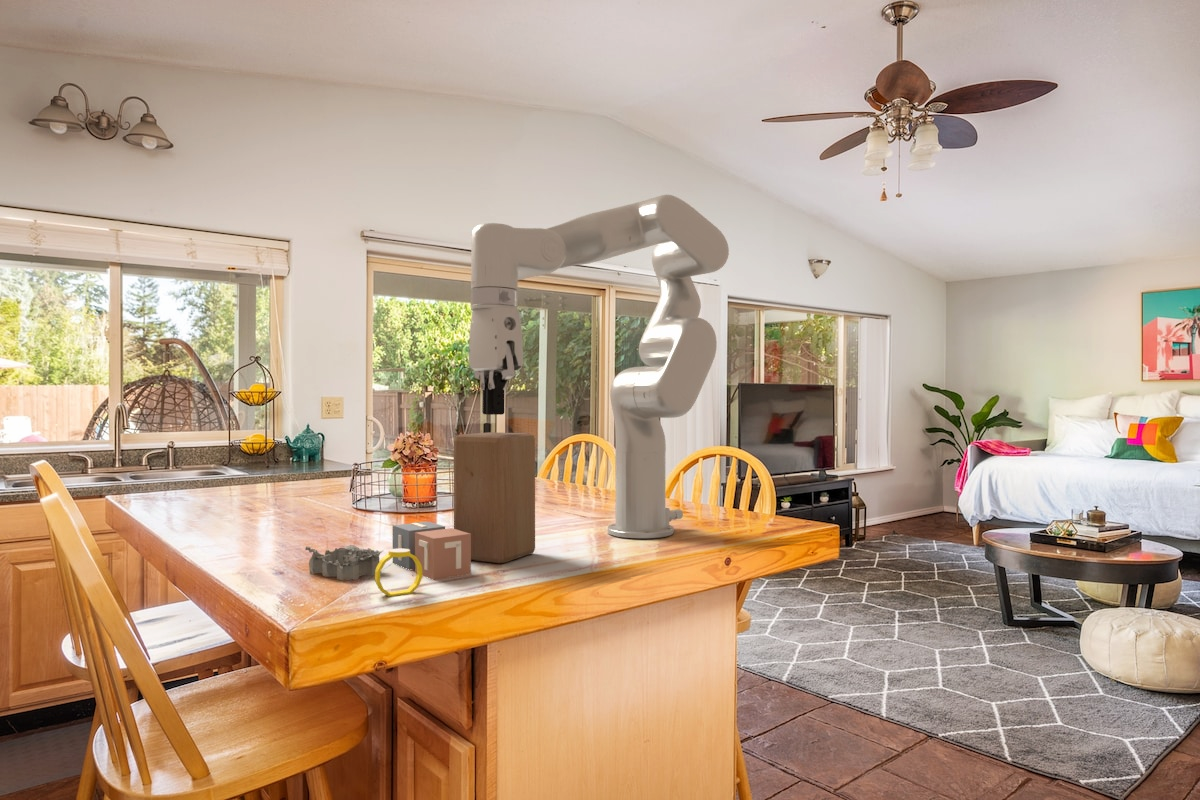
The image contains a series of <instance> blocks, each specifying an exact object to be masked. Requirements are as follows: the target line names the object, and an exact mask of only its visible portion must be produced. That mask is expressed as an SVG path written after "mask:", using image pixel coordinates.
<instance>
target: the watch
mask: <svg viewBox="0 0 1200 800" xmlns="http://www.w3.org/2000/svg"><path fill="white" fill-rule="evenodd" d="M387 552H388V553H387V554H386V555H385V556H383V557H382V558H381V559H379V564H378V565H377V567H376V570H375V575H374V581H375V583H376V586H377V588H378V589H379V591H380V592H382V593H383V594H385V595H386V596H387V597H395V596H396V597H397V596H405V594H406V595H412V594H413V593H414V592H415V591H416V589H418V588H419V586H420V584H421V581H422V579H423V576H422V575H423V573H422V566H421V563H420V562H419V560H418V559H417V557H416V556H414V555H412V554H410V550H409V549H404V548H398V549H393V548H391V549H389V550H388V551H387ZM407 556H409V557H411V558H412V559H413V560H414V562H415V563H416V566H417V573H416V576H415V579H414V582H413V583H412V584H411V585H410V586H409V587H408V588H407V589H401V590H395V591H388V590H386V589H385V588H384V586H383V584H382V582H381V573H382V570H383V568H384V566H385V564H386V563H387V562H388V561H390V560H391V559H393V557H407Z"/></svg>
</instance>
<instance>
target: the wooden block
mask: <svg viewBox="0 0 1200 800" xmlns="http://www.w3.org/2000/svg"><path fill="white" fill-rule="evenodd" d="M453 529H456V530H460V531H463V532H467V533H470V534H471V561H475V562H483V563H491V562H492V564H499V563H502V564H505V563H508V562H511V561H513V560H516V559H517V560H518V559H519V558H522V556H523V557H526V556H529V555H531V554H533V553H534V552H535V550H536V437H535V435H533V434H531V433H525V432H523V433H522V432H491V431H490V432H488V431H487V432H479V433H478V432H477V433H475V432H474V433H463V434H461V433H459V434H458V435H455V436H454V438H453Z"/></svg>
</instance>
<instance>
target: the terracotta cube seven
mask: <svg viewBox="0 0 1200 800" xmlns="http://www.w3.org/2000/svg"><path fill="white" fill-rule="evenodd" d="M415 556H416V557H417V559H418V560H419V562H420V563H421V566H422V573H423V575H422V577H425V578H427V577H428V578H427V579H430V580H432V579H433V580H432V581H437V580H438V581H439V580H442V579H449V578H455V577H461V576H466V574H467V575H471V574H472V560H471V534H470V533H467V532H463V531H460V530H456V529H454V527H453V528H452V527H451V528H445V529H440V530H432V531H424V532H416V533H415ZM415 572H416V573H415ZM414 573H415V574H417V566H416V563H415V569H414ZM436 579H437V580H436Z"/></svg>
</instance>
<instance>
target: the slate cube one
mask: <svg viewBox="0 0 1200 800" xmlns="http://www.w3.org/2000/svg"><path fill="white" fill-rule="evenodd" d="M440 529H446V526H444V525H442V524H437V523H435V522H432V521H421V522H412V523H411V522H410V523H401V524H392V549H398V548H404V549H409V550H410V554H412V555H414V556H415V533H416V532H424V531H432V530H440ZM393 563H394V565H396V564H397V565H396V566H398V565H399V566H398V567H401V566H402V567H401V568H403V567H404V569H405V568H407V569H406V570H408V569H409V571H411V570H410V569H413V570H415V562H414V560H413V559H412V558H411V557H409V556H407V557H392V564H393Z"/></svg>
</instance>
